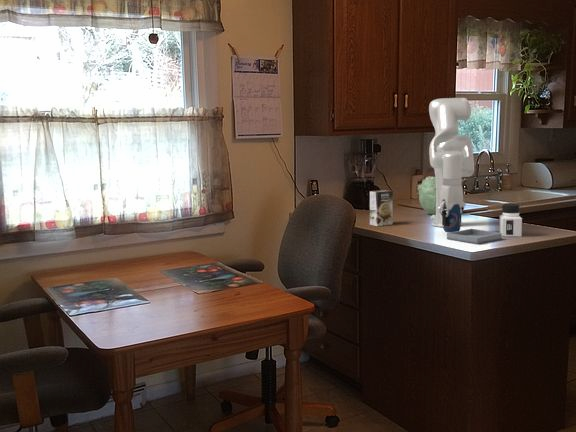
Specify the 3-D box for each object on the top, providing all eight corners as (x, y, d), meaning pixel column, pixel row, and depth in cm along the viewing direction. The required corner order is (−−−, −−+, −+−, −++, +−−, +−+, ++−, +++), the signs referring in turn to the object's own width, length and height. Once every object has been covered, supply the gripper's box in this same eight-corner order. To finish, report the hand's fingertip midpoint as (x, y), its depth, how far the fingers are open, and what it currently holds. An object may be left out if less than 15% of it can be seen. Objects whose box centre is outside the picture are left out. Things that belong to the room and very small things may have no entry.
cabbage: (454, 217, 304) (454, 177, 301) (415, 216, 310) (415, 177, 307) (456, 213, 318) (457, 174, 315) (419, 212, 325) (419, 174, 322)
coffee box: (377, 226, 286) (377, 192, 283) (369, 224, 291) (368, 190, 289) (393, 224, 290) (393, 190, 287) (385, 222, 295) (384, 189, 293)
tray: (446, 239, 250) (446, 233, 249) (471, 234, 258) (471, 228, 258) (477, 244, 237) (477, 238, 237) (501, 239, 246) (501, 233, 245)
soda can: (442, 233, 258) (442, 204, 256) (444, 229, 265) (444, 202, 263) (459, 233, 256) (459, 205, 254) (461, 230, 262) (461, 202, 260)
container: (521, 236, 250) (522, 204, 248) (501, 236, 251) (502, 205, 250) (518, 233, 257) (519, 202, 255) (499, 233, 259) (499, 202, 257)
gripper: (459, 179, 264) (458, 220, 268) (431, 183, 255) (430, 226, 258) (473, 181, 258) (472, 222, 261) (445, 185, 249) (444, 228, 252)
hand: (451, 224), depth 260 cm, fingers closed on soda can, 7 cm apart
